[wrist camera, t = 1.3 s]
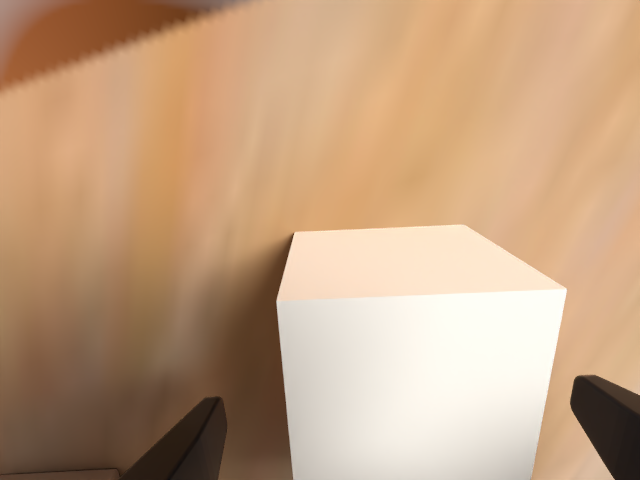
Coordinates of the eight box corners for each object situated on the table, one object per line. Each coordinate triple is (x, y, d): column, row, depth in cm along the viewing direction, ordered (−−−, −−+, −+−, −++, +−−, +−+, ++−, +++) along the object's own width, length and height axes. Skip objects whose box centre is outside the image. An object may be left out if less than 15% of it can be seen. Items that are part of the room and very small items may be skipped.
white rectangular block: (445, 421, 12) (512, 575, 8) (308, 426, 12) (302, 581, 8) (461, 223, 10) (567, 288, 6) (295, 230, 10) (276, 300, 6)
